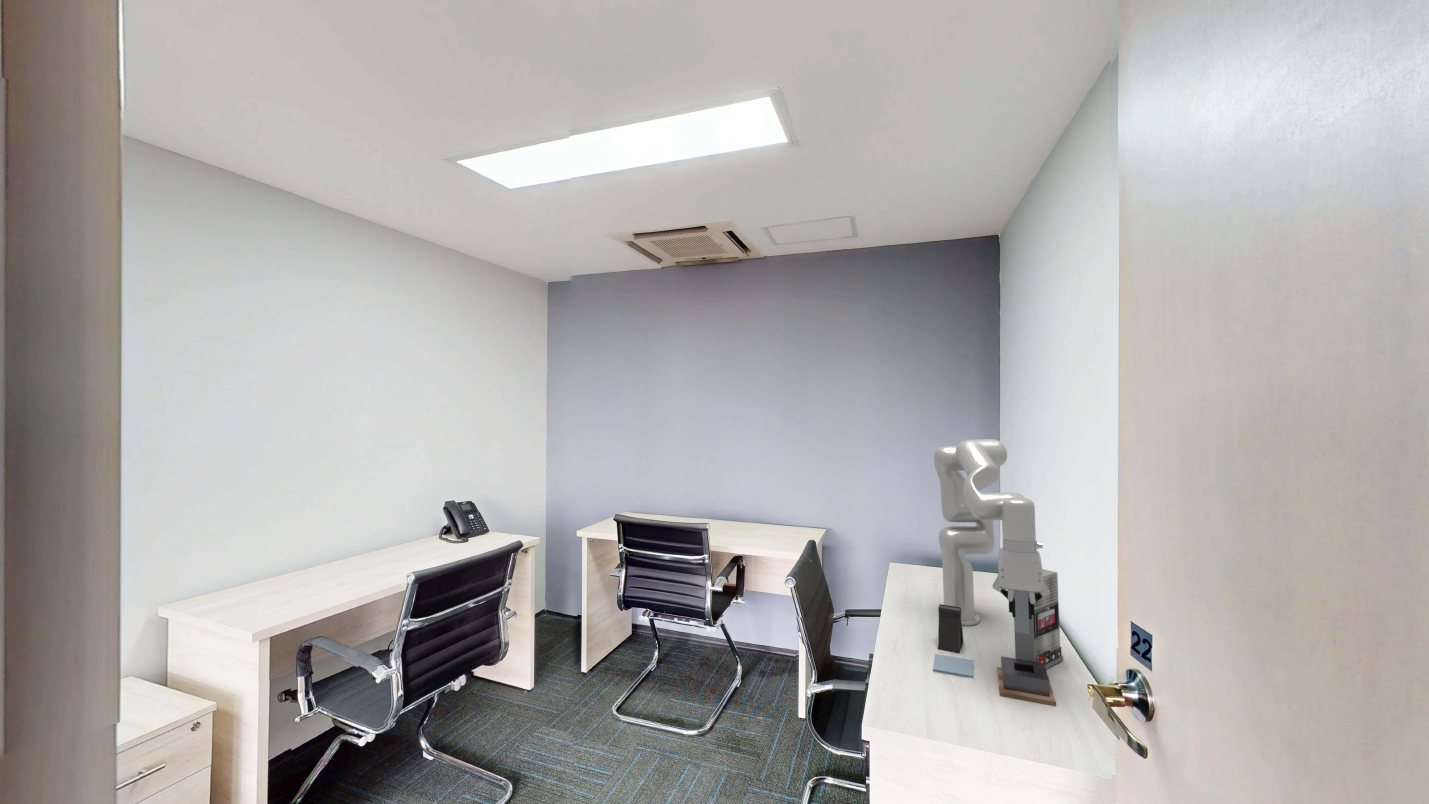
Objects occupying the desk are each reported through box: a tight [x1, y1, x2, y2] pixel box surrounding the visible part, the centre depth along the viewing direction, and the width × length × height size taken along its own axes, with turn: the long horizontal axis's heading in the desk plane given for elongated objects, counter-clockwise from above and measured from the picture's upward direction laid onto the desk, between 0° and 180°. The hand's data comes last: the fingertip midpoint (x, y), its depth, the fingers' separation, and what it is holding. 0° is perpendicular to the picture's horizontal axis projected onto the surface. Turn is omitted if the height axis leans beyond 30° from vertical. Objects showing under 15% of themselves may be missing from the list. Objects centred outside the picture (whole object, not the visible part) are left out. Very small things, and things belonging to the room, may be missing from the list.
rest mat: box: [932, 653, 974, 679], centre depth 149 cm, size 10×10×1 cm
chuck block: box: [1000, 655, 1050, 697], centre depth 137 cm, size 10×10×4 cm
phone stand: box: [937, 603, 964, 654], centre depth 162 cm, size 9×6×12 cm, turn 148°
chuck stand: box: [996, 666, 1057, 707], centre depth 137 cm, size 14×12×1 cm
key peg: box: [1014, 590, 1029, 634], centre depth 138 cm, size 3×3×11 cm
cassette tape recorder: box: [1013, 568, 1064, 669], centre depth 150 cm, size 14×6×25 cm, turn 121°
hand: (1021, 615), depth 138 cm, fingers closed on key peg, 3 cm apart
